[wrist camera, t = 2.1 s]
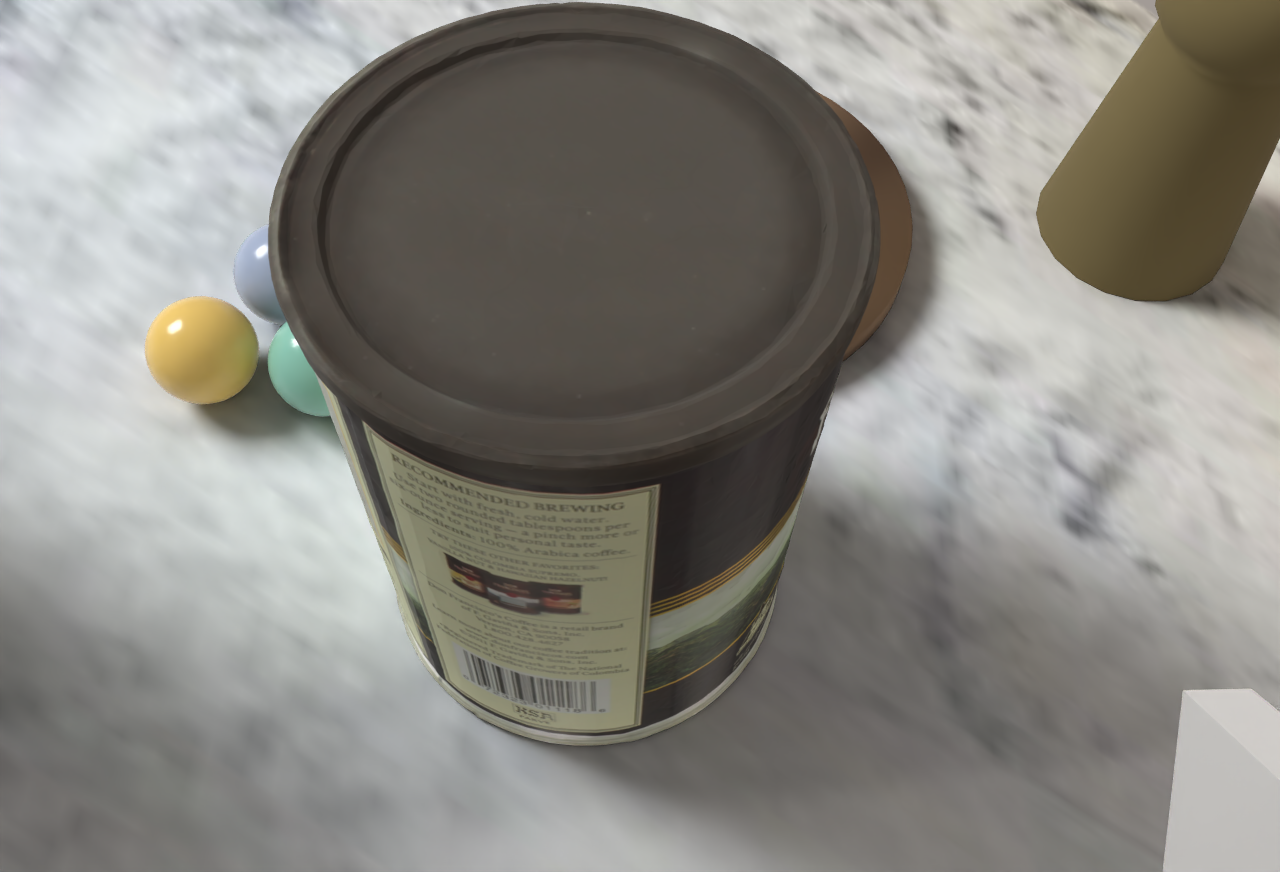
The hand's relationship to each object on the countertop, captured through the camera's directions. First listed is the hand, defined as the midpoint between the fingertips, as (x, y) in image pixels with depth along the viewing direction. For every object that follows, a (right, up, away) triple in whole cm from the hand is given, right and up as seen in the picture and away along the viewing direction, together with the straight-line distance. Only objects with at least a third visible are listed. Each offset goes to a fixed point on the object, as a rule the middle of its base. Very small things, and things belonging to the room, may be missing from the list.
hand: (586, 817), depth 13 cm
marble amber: (-12, +6, +22) cm, 25 cm away
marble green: (-8, +5, +22) cm, 24 cm away
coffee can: (-1, +1, +20) cm, 20 cm away
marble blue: (-10, +8, +23) cm, 27 cm away
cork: (+16, +11, +26) cm, 33 cm away
